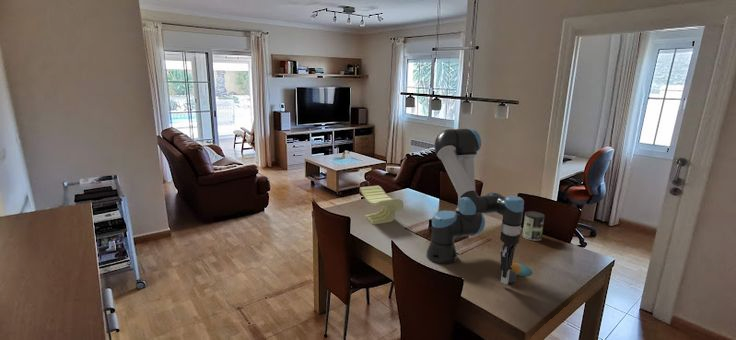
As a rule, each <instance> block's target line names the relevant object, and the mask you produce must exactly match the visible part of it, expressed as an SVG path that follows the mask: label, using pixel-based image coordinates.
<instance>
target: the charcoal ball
mask: <svg viewBox="0 0 736 340" xmlns="http://www.w3.org/2000/svg"><path fill="white" fill-rule="evenodd" d="M517 276H518V275H516V273H515V272H514V271H512V270H510V272H509V280H508V284H511V283H515V282H516V280H517Z"/></svg>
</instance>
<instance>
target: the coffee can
mask: <svg viewBox="0 0 736 340" xmlns="http://www.w3.org/2000/svg"><path fill="white" fill-rule="evenodd" d="M545 217H546V216H545V214H544V213H542V212H539V211H533V210H528V211H525V212H524V221H523V228H522V237H523V238H524V239H526V240H529V241H534V242H536V241H537V242H539V241H542V237H543V230H544V223H545V222H544V221H545Z"/></svg>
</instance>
